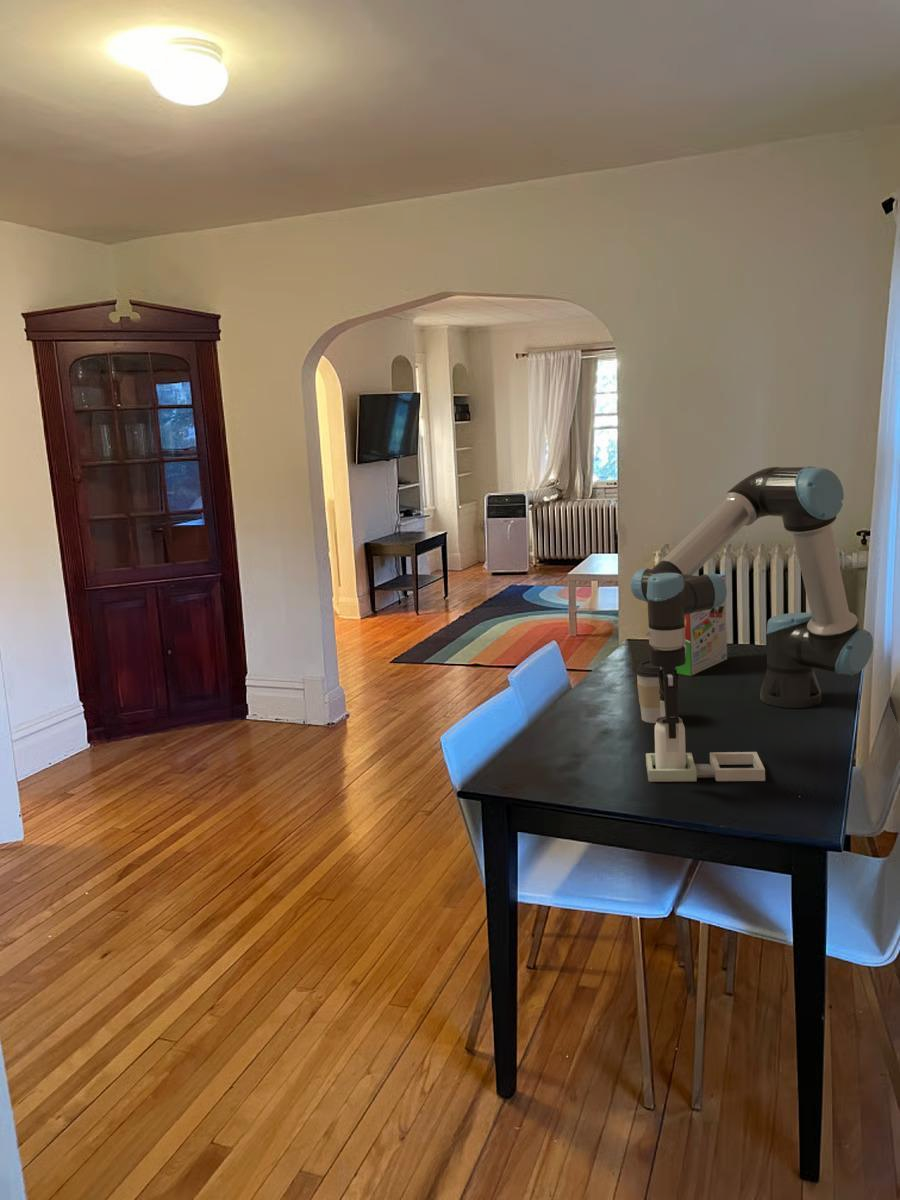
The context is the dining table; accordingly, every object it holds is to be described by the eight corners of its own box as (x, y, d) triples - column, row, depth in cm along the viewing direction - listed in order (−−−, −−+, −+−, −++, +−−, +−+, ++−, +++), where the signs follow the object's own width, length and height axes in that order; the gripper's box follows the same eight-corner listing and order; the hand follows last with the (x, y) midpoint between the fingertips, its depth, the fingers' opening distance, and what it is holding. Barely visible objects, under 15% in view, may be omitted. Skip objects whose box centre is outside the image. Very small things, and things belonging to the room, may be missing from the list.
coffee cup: (674, 724, 222) (672, 667, 219) (637, 724, 224) (635, 668, 221) (672, 712, 230) (670, 657, 227) (637, 712, 232) (635, 658, 229)
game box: (712, 657, 277) (710, 573, 272) (728, 660, 273) (726, 574, 268) (675, 673, 264) (672, 585, 258) (691, 676, 260) (688, 586, 254)
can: (667, 780, 189) (666, 727, 187) (649, 770, 195) (648, 719, 192) (692, 773, 191) (691, 721, 189) (673, 764, 197) (672, 713, 195)
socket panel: (756, 762, 195) (756, 751, 194) (765, 780, 185) (765, 769, 184) (646, 763, 199) (645, 753, 198) (648, 781, 189) (648, 770, 188)
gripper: (645, 632, 200) (648, 720, 204) (652, 662, 176) (656, 762, 180) (679, 631, 199) (681, 720, 203) (691, 661, 175) (693, 761, 179)
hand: (669, 740), depth 191 cm, fingers open, 13 cm apart
